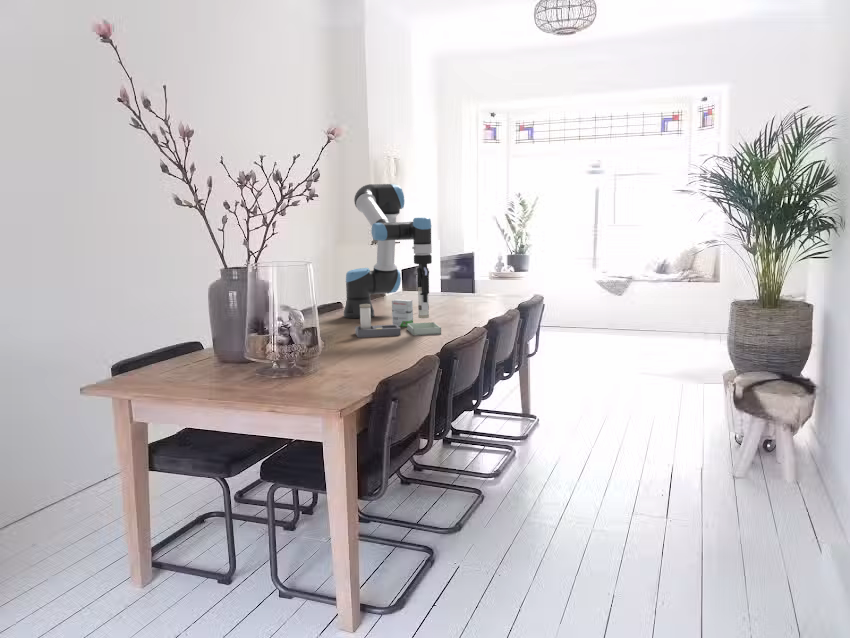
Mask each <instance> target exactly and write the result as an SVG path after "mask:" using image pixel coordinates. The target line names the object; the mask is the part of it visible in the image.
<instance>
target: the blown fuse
mask: <svg viewBox="0 0 850 638" xmlns="http://www.w3.org/2000/svg"><path fill="white" fill-rule="evenodd" d="M421 293H422V287H418V286H417V295H418V297H417V298H418V299H417V300H418V301H417V303H418V304H417V307H418V309H417V310H418V319H429V318H430V304H429V303H430V302H429V300H430V299H429V297H430V295H429V294H430V293H429V294H428V310H422V305H421V295H420V294H421Z"/></svg>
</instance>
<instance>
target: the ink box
mask: <svg viewBox="0 0 850 638" xmlns="http://www.w3.org/2000/svg"><path fill="white" fill-rule="evenodd" d="M391 316H392V317H391V321H392V325H395V324H397V325H398V326H399V327H400V328H401V327H405V328H407V324H408V323H414V309H413V300H411V299H399V298H398V299H397V298H396V299H392V300H391Z"/></svg>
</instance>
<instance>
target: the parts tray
mask: <svg viewBox="0 0 850 638" xmlns="http://www.w3.org/2000/svg"><path fill="white" fill-rule="evenodd" d="M406 329H407V331H408V332H409V333H410V334H411V335H412V336H428V335H442V327H441V326H440V325H438V324H437V323H436V322H435V321H434V322H432V321H431V322H415V323H414V322H413V323H408V324H407V327H406Z"/></svg>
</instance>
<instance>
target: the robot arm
mask: <svg viewBox="0 0 850 638" xmlns="http://www.w3.org/2000/svg"><path fill="white" fill-rule="evenodd" d="M353 202H354V206H355V208H356V209H357V210H358V211H359V213H362V214H363V215H364V217H365V218H366V220H367V221H368V222H369V224H370V225H371V231H370V232H371V236H372V239H373V240H374V241H377V243H376V244H377V248H376V250H377V251H376V253H377V254H376V263H375V264H374V265H373V270H371V269H370V268H368V267H362V268H354V269H350V270H349V271H347V272H346V274H345V284H346V285H345V286H346V287H345V289H346V292H345V293H346V294H345V295H346V303H345V307H344V309H343V317H344V318H346V319H347V318H348V319H360V304H371V307H370V309H371V318H372V317H374V316H375V310H374V307H373V304H372V300H371V295H379V294H382V295H383V294H393V293H396V292H397V291H398V290H399V289H400V287H401V281H402V278H401V277H402V276H401V272H400V270H399V269H398V267H397V265H396V264H395V252H396V249H395V248H396V241H404V240H405V241H407V240H408V241H409V240H410V241H411V240H413V246H412V250H413V254H415V255H413V263H414V265H418V268H416V273H417V274H416V275H417V288H418V287H422V293H421V294H420V295H421V305H422V310H428V294H430V277H429V276H430V270H429V268H428V265H429V264H432V261H433V260H432V249H433V248H432V221H431V218H430V217H413V220H412V221H407V222H406V221H404V222H402V221H401V222H399V221H398V222H397V216H399V214H400V212H401V211H400V210H402V209H404V206H405V195H404V191H403V189H402V187H401V186H400V185H399V184H395V183H393V184H392V183H381V184H380V183H379V184H378V183H377V184H365V185H363V186H361V187H360V188H359V189H358V190H357V191H356V192H355V195H354V199H353Z"/></svg>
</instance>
